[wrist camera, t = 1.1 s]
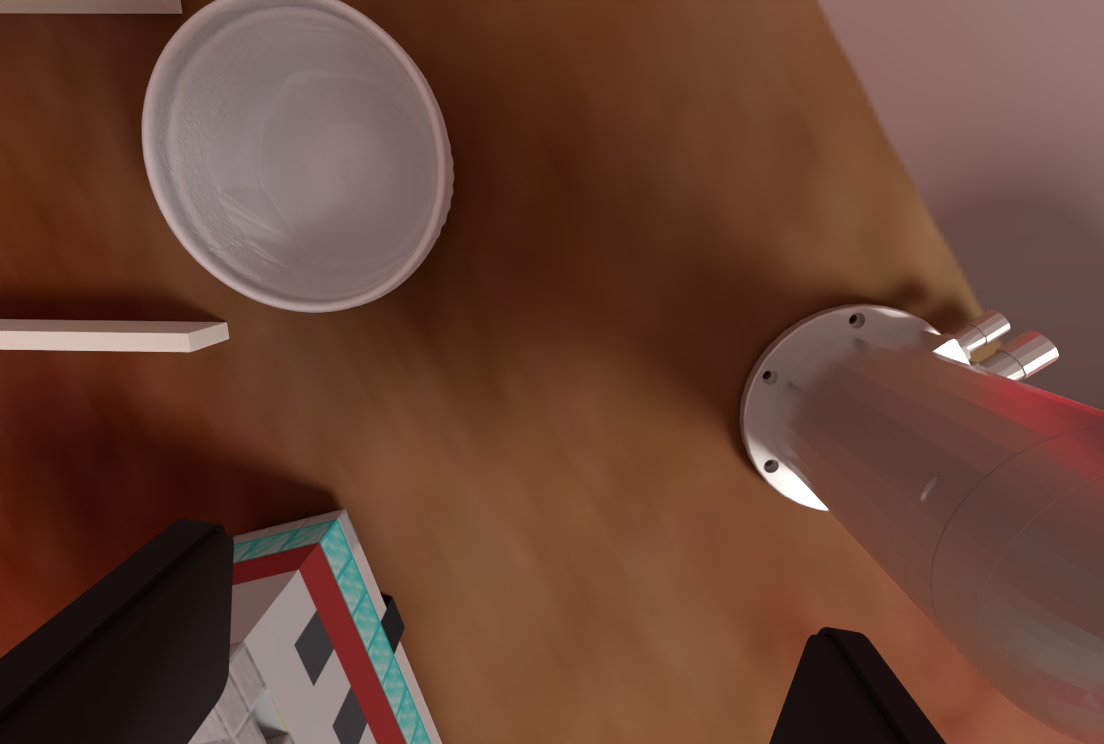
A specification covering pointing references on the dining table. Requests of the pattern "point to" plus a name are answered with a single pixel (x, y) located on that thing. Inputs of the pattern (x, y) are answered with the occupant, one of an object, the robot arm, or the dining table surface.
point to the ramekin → (296, 152)
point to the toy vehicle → (314, 646)
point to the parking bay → (95, 331)
